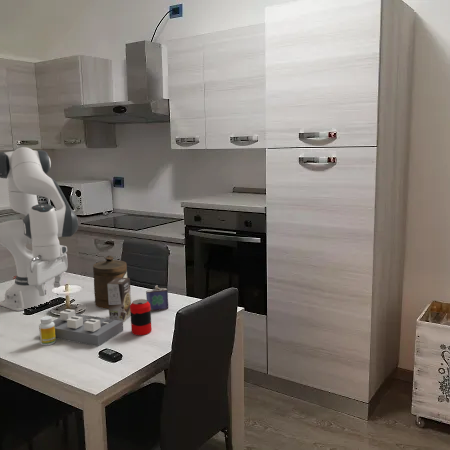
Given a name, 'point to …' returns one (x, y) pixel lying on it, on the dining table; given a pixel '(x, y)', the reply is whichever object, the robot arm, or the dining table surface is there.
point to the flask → (157, 298)
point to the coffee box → (119, 299)
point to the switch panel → (88, 337)
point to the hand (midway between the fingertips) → (50, 291)
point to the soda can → (140, 317)
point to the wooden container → (106, 278)
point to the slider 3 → (92, 325)
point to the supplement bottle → (47, 331)
